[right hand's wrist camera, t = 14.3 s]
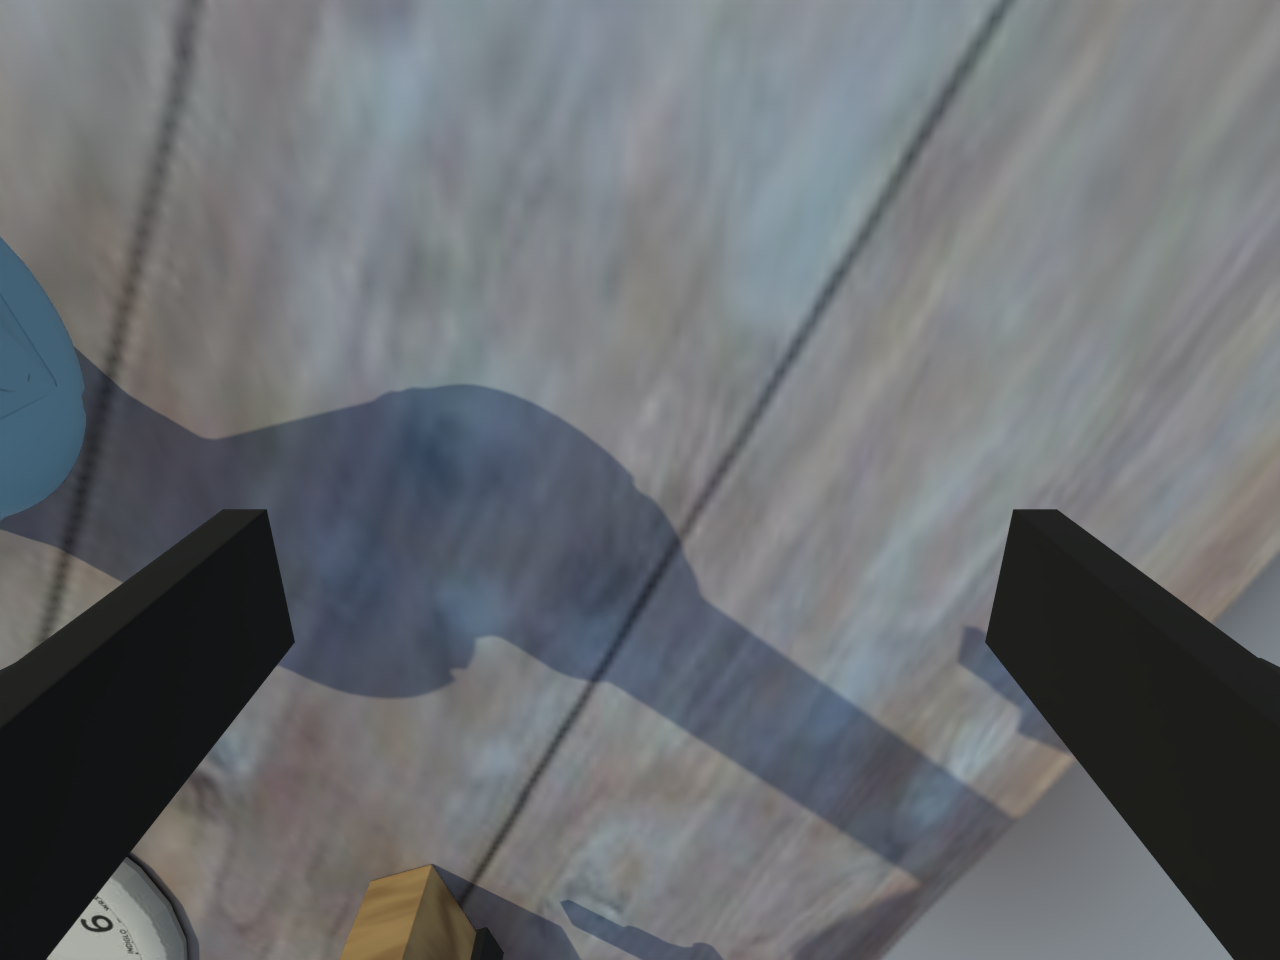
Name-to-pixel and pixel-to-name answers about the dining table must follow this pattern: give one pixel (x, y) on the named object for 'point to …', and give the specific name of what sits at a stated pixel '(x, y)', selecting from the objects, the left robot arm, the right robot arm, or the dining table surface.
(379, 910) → the bar
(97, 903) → the wall clock
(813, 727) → the dining table surface
